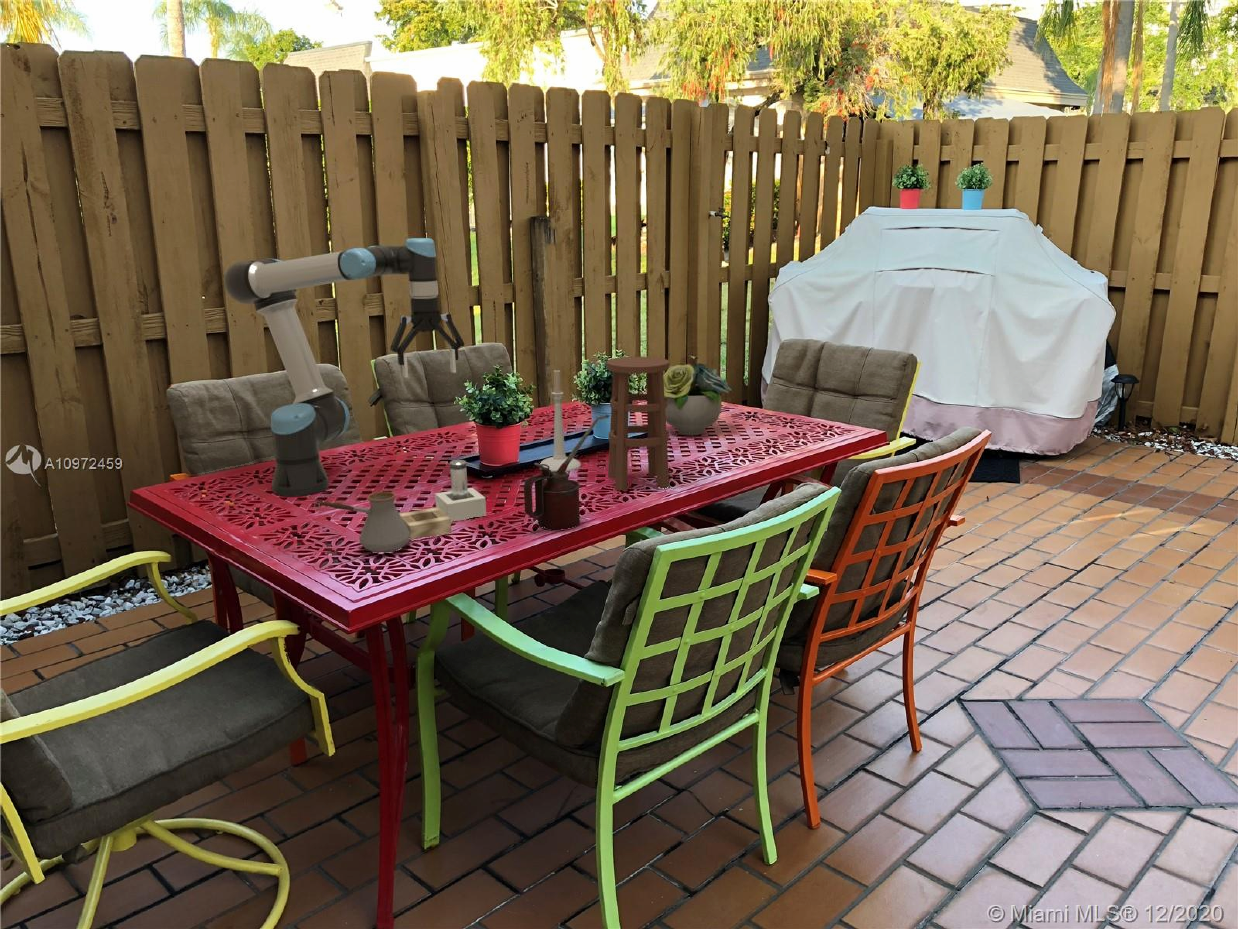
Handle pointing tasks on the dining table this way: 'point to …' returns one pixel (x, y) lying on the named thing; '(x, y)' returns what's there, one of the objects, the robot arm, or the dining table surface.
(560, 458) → the candlestick
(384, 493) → the coffee pot
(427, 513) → the socket block
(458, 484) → the salt shaker
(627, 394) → the stool
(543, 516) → the oil can
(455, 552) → the dining table surface
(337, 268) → the robot arm
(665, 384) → the flower arrangement
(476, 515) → the small grey open-top box
